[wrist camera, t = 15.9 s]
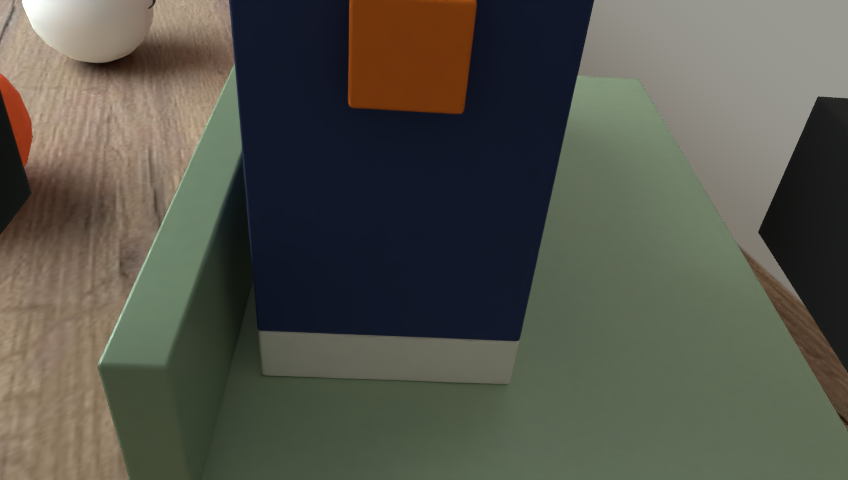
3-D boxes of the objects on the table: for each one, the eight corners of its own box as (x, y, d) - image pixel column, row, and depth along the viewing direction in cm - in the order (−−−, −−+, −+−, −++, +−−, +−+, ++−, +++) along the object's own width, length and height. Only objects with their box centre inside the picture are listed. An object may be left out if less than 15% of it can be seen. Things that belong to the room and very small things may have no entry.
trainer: (513, 405, 17) (611, -22, 11) (257, 396, 17) (214, -51, 11) (468, 104, 30) (503, -176, 24) (320, 94, 29) (317, -192, 23)
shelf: (604, 205, 37) (663, -10, 31) (781, 668, 20) (1010, 399, 13) (288, 189, 36) (279, -38, 30) (178, 660, 19) (94, 364, 12)
